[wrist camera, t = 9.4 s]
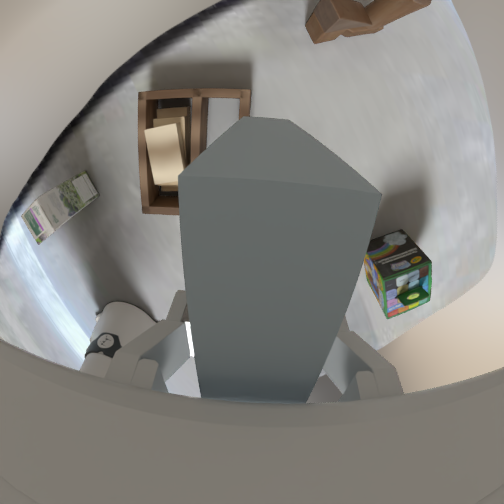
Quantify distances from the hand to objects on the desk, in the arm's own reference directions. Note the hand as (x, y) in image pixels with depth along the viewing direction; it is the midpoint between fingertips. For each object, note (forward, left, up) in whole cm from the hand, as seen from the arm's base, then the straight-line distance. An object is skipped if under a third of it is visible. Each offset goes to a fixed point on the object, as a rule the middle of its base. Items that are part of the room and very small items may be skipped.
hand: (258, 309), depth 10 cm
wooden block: (+22, -10, -34) cm, 42 cm away
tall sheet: (0, 0, -11) cm, 11 cm away
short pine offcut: (0, +13, -30) cm, 32 cm away
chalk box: (-16, -25, -34) cm, 45 cm away
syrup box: (-7, +32, -34) cm, 47 cm away
